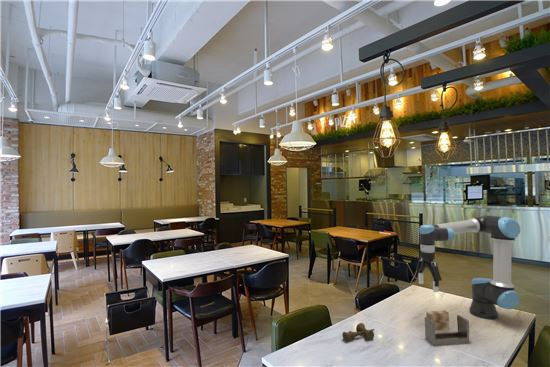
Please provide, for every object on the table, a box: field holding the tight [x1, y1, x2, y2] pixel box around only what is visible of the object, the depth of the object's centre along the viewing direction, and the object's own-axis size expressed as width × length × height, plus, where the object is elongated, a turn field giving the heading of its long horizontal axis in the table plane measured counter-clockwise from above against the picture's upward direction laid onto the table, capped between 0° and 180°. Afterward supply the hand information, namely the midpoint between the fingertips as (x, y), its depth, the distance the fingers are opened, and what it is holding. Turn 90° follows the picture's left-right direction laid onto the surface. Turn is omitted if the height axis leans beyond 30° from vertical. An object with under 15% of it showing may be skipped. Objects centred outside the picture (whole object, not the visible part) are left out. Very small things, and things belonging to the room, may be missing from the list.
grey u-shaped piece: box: [424, 314, 470, 347], centre depth 156 cm, size 20×7×12 cm, turn 96°
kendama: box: [342, 322, 375, 343], centre depth 161 cm, size 6×10×20 cm
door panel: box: [425, 309, 450, 332], centre depth 169 cm, size 12×3×10 cm, turn 96°
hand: (428, 287), depth 169 cm, fingers open, 13 cm apart
